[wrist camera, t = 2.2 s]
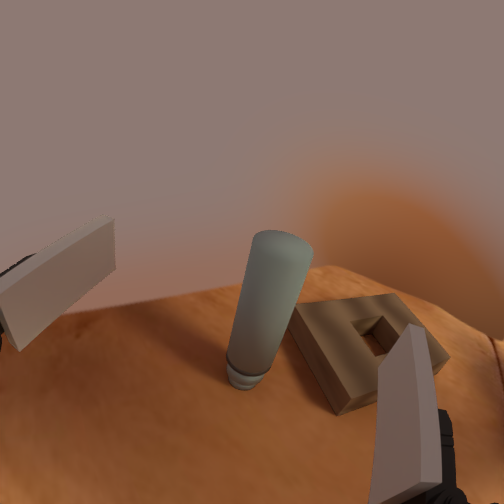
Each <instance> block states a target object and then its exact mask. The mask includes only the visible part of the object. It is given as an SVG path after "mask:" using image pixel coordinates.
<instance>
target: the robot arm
mask: <svg viewBox="0 0 504 504" xmlns="http://www.w3.org/2000/svg"><path fill="white" fill-rule="evenodd" d="M114 239H115V237H114V219H113V218H110V217H108V216H105V215H100V216H99V217H97V218H95V219H93V220H91V221H90V222H88V223H86V224H84V225H83V226H81V227H79V228H78V229H76V230H74V231H72V232H71V233H69V234H67V235H66V236H64V237H62V238H60V239H59V240H57V241H55V242H54V243H52V244H51V245H49V246H47V247H46V248H44V249H43V250H41V251H39V252H38V253H35V254H33V255H29V256H26V257H25V258H23V259H22V260H20V261H18V262H17V264H14V265H13V266H11V267H10V268H9V269H7V270H5V271H4V272H2V273H1V274H0V350H1V345H2V337H1V334H2V333H3V332H5V334H6V336H7V339H8V341H9V343H10V344H12V345H13V346H14V347H15V348H16V349H17V350H18V351H19V352H20V351H21V350H22V349H23V348H25V347H26V346H27V345H28V344H29V343H30V342H31V341H32V340H33V339H34V338H35V337H36V336H38V335H39V334H40V333H41V332H42V331H43V330H44V329H45V328H46V327H48V326H49V325H50V324H51V323H52V322H53V321H54V320H55V319H57V318H58V317H59V316H60V315H61V314H62V313H63V312H65V311H66V310H67V309H68V308H69V307H70V306H71V305H73V304H74V303H75V302H76V301H77V300H79V299H80V298H81V297H82V296H83V295H85V294H86V293H87V292H88V291H89V290H90V289H92V288H93V287H94V286H95V285H97V284H98V283H99V282H100V281H102V280H103V279H104V278H105V277H107V276H108V275H109V274H110V273H111V272H113V271H114V270H115V269H116V266H115V240H114ZM452 436H453V430H452V422H451V420H450V418H449V416H448V414H447V411H446V410H441V409H438V407H437V399H436V391H435V384H434V378H433V371H432V366H431V360H430V354H429V349H428V344H427V339H426V334H425V330H424V328H422V327H419V326H416V325H413V324H410V323H409V324H408V325H407V327H406V328H405V330H404V331H403V333H402V334H401V336H400V337H399V339H398V340H397V342H396V343H395V345H394V346H393V348H392V349H391V350H390V352H389V353H388V355H387V356H386V357H385V359H384V360H383V362H382V363H381V364H380V366H379V367H378V399H377V422H376V438H375V450H374V461H373V470H372V479H371V487H370V494H369V501H368V504H470V503H468V502H467V498H466V495H465V494H464V492H463V491H462V490H460V489H459V488H457V486H456V468H455V452H454V448H453V446H454V440H453V438H452ZM491 504H499V503H491Z"/></svg>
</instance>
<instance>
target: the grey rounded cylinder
mask: <svg viewBox="0 0 504 504" xmlns="http://www.w3.org/2000/svg"><path fill="white" fill-rule="evenodd" d="M312 258H313V250H312V248H311V246H310V245H309V244H308V243H307V242H306V241H304V240H303V239H301V238H299V237H297V236H295V235H293V234H290V233H287V232H282V231H277V230H266V231H261V232H259V233H257V234H256V235H255V236H254V237H253V241H252V246H251V250H250V254H249V259H248V263H247V267H246V271H245V276H244V280H243V284H242V289H241V293H240V297H239V302H238V306H237V310H236V315H235V319H234V323H233V328H232V332H231V336H230V341H229V345H228V349H227V354H226V359H227V362H228V363H227V368H226V369H227V374H228V379H229V382H230V384H231V385H232V386H233V387H235V388H236V389H239V390H250V389H252V388H254V387H255V385H256V384H257V383H259V382H260V381H261V380H262V379H263V377H264V374H265V373H266V372H268V371H269V369H270V368H271V365H272V363H273V360H274V358H275V356H276V353H277V351H278V348H279V346H280V343H281V341H282V338H283V336H284V333H285V331H286V328H287V325H288V323H289V320H290V318H291V315H292V312H293V310H294V307H295V305H296V302H297V299H298V297H299V294H300V291H301V288H302V286H303V283H304V280H305V278H306V275H307V272H308V269H309V266H310V263H311V260H312Z"/></svg>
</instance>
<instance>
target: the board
mask: <svg viewBox="0 0 504 504" xmlns="http://www.w3.org/2000/svg"><path fill="white" fill-rule="evenodd" d="M409 323H410V324H413V325H416V326H419V327H422V328H424V330H425V334H426V339H427V344H428V349H429V354H430V360H431V366H432V371H433V376H434V375H436V374H437V373H438V372H439V371H440V370H441V368H442V367H443V366H444V365H445V364H446V362H447V361H448V360H449V359H450V356H449V355H448V353H447V352H446V351H445V350H444V349H443V347H442V346H441V345H440V344H439V343H438V341H437V340H436V339H435V338H434V337H433V336H432V334H431V333H430V332H429V331H428V330H427V329H426V327H425V326H424V325H423V324H422V323H421V322H420V321H419V319H418V318H417V317H416V316H415V315H414V314H413V313H412V312H411V310H410V309H409V308H408V307H407V306H406V305H405V304H404V303H403V302H402V301H401V299H400V298H399V297H398V296H397V295H396V294H395V293H390V294H382V295H375V296H367V297H358V298H350V299H341V300H332V301H322V302H312V303H302V304H296V305H295V307H294V310H293V312H292V315H291V318H290V320H289V323H288V325H287V327H288V329H289V331H290V333H291V334H292V336H293V338H294V340H295V342H296V343H297V345H298V347H299V349H300V351H301V352H302V354H303V356H304V358H305V360H306V362H307V363H308V365H309V367H310V369H311V371H312V372H313V374H314V376H315V378H316V380H317V381H318V383H319V385H320V387H321V389H322V390H323V392H324V394H325V396H326V398H327V399H328V401H329V403H330V405H331V407H332V408H333V410H334V412H335V414H336V416H339V415H342V414H345V413H348V412H350V411H353V410H356V409H359V408H361V407H364V406H367V405H369V404H372V403H374V402H377V399H378V367H379V366H380V364H381V363H382V362H383V360H384V359H385V357H386V356H387V355H388V353H389V352H390V350H391V349H392V348H393V346H394V345H395V343H396V342H397V340H398V339H399V337H400V336H401V334H402V333H403V331H404V330H405V328H406V327H407V325H408V324H409ZM368 334H373V335H374V337H375V338H376V339H377V341H378V342H379V343H380V345H381V346H382V347H383V349H384V350H385V351H386V354H383V355H380V356H376V357H375V356H374V354H373V353H372V352H371V350H370V349H369V348H368V346H367V345H366V343H365V342H364V341H363V339H362V338H361V336H363V335H368Z"/></svg>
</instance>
